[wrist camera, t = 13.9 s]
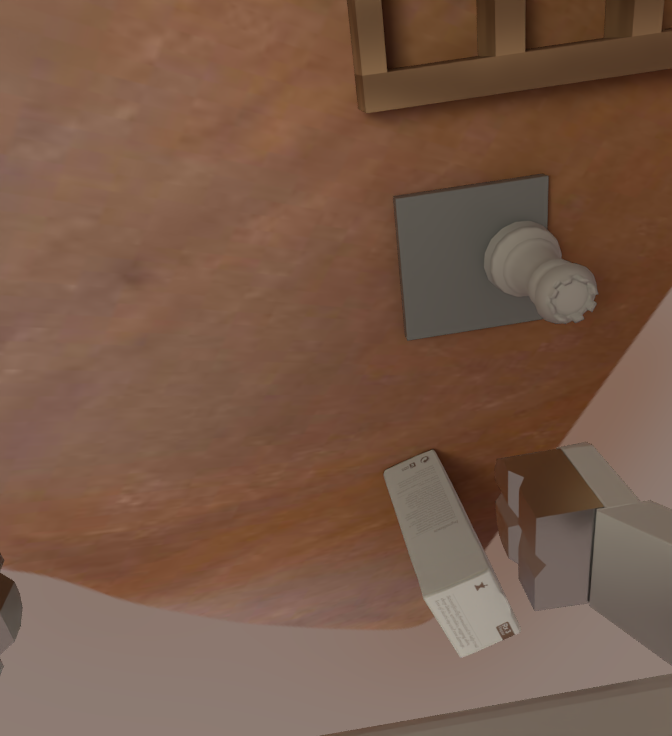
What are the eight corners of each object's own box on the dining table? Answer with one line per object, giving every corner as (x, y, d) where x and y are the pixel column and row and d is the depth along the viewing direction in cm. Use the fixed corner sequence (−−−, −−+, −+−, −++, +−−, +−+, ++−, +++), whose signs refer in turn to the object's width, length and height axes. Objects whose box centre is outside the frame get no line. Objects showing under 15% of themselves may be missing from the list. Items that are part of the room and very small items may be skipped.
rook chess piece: (567, 241, 39) (635, 284, 32) (522, 302, 40) (578, 355, 33) (511, 204, 37) (568, 240, 30) (466, 268, 39) (512, 317, 32)
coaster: (393, 196, 37) (395, 198, 37) (543, 173, 38) (548, 175, 37) (404, 335, 41) (407, 340, 41) (540, 314, 42) (545, 318, 41)
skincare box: (379, 470, 46) (415, 599, 35) (436, 444, 45) (490, 566, 35) (412, 528, 49) (454, 664, 38) (466, 504, 48) (525, 635, 37)
